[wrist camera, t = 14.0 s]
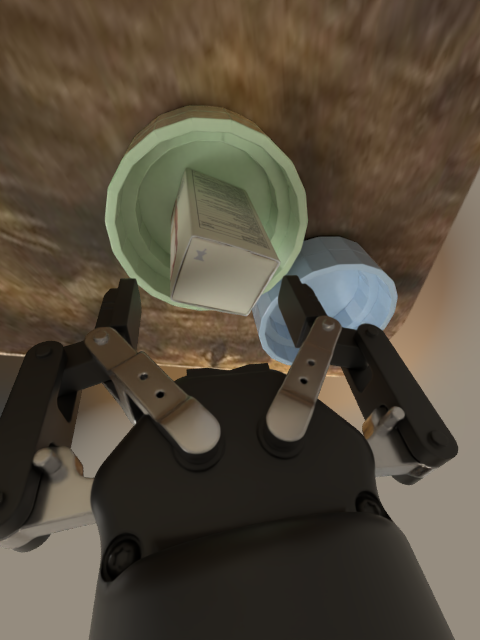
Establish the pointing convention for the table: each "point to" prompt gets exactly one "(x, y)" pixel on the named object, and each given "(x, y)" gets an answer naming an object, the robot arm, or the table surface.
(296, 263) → the bowl right
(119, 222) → the bowl left
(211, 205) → the skincare product carton
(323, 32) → the table surface
